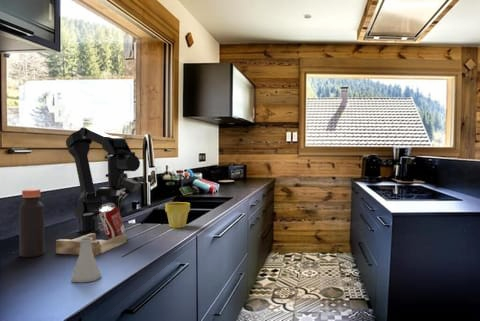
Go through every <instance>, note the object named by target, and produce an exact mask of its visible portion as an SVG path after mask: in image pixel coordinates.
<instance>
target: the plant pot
mask: <svg viewBox="0 0 480 321" xmlns="http://www.w3.org/2000/svg"><path fill="white" fill-rule="evenodd" d="M164 211H165V213H166V215H167V219H168V225H169V226H168V227H170V228H171V229H181V227H182V228H185V227H186V225H187V220H188V215H189V212H191V203H190V202H185V201H184V202H182V201H181V202H180V201H173V202H166V203H165V209H164Z"/></svg>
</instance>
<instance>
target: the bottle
mask: <svg viewBox="0 0 480 321" xmlns="http://www.w3.org/2000/svg"><path fill="white" fill-rule="evenodd" d="M21 195H22V200H23V202H22V203H21V204H20V205H19V207H18V230H19V231H18V236H19V238H18V239H19V256H20V257H21V258H35V257H38V256H42V255H44V254H45V252H46V251H45V250H46V249H45V246H46V245H45V244H46V243H45V242H46V241H45V240H46V239H45V205H44V204H43V203H42V202H41V201H40V199H41V189H39V188H38V189H37V188H33V189H31V188H30V189H23V190H22V192H21Z"/></svg>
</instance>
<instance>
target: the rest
mask: <svg viewBox="0 0 480 321" xmlns="http://www.w3.org/2000/svg"><path fill="white" fill-rule="evenodd" d="M87 237H88V238H92V239H93V240H92V242H91V247H92V252H93V255H94V257H97V256H98V255H100V254H104V253H105V252H108V251H110V250H112V249H114V248H116V247H118V246H120V245H123V244H125V243H127V234H122V235H119V236H117V237H114V238H112V239H111V238H108V239H97V233H96V232H92V233H86V234H85V235H82V236H79V237H75V238H73V239H67V238H63V239H62V238H59V239H56V240H55V254H61V255H63V254H64V255H78V256H79V253H80V247H81V243H80V242H79V239H81V238H87Z"/></svg>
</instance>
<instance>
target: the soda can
mask: <svg viewBox="0 0 480 321" xmlns="http://www.w3.org/2000/svg"><path fill="white" fill-rule="evenodd" d="M98 216H99V219H100V223H101V225H102V227H103V230H104V234H105V236H106V238H108V239H112V238H114V237H117V236H119V235H124V233H125V232H126V229H125V226H124V223H123V220H122V216H121V213H120V212H119V209H118V207H117V206H115V204H114V203H109V202H107V203H103V205H102V206H101V207H100V208H99V215H98Z"/></svg>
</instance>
